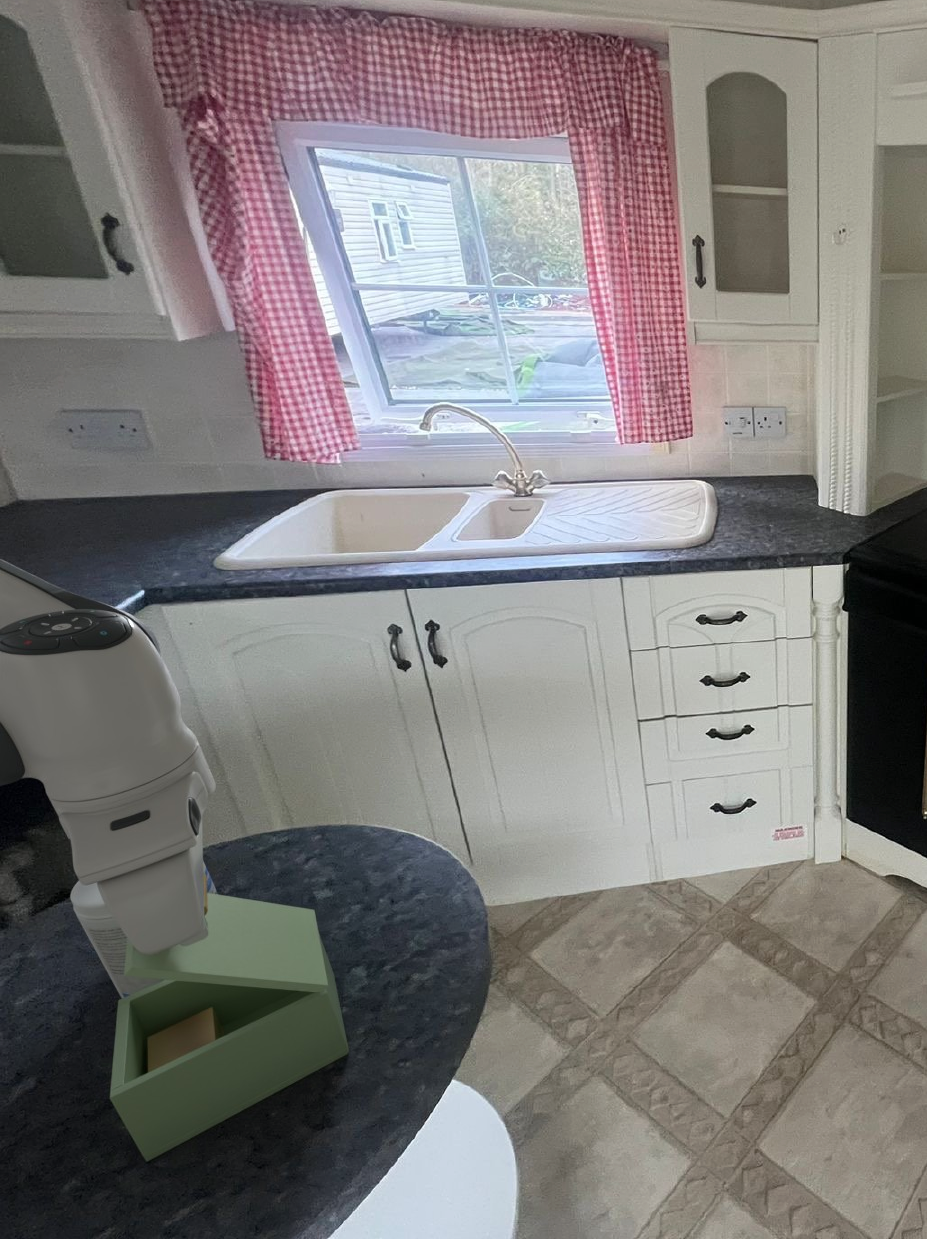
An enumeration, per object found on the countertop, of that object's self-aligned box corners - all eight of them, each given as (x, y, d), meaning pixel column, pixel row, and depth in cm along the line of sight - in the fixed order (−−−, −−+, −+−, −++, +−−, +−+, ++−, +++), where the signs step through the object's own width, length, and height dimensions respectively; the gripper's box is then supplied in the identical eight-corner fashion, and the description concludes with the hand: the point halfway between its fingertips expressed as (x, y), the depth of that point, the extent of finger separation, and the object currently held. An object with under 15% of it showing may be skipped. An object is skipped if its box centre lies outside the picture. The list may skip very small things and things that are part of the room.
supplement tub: (258, 952, 84) (217, 854, 79) (151, 1026, 76) (97, 921, 71) (210, 922, 88) (167, 825, 82) (102, 989, 80) (47, 886, 74)
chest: (146, 1162, 65) (109, 1098, 62) (150, 1061, 73) (118, 999, 70) (349, 1053, 74) (326, 992, 71) (333, 974, 82) (312, 916, 79)
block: (164, 1106, 69) (147, 1074, 67) (163, 1069, 72) (147, 1037, 70) (230, 1071, 72) (215, 1040, 70) (227, 1037, 75) (212, 1006, 73)
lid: (123, 976, 60) (167, 925, 61) (130, 889, 68) (169, 845, 69) (322, 993, 71) (357, 949, 72) (309, 916, 79) (340, 878, 80)
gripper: (95, 749, 67) (151, 865, 72) (70, 885, 53) (142, 1016, 58) (190, 722, 71) (236, 834, 76) (190, 842, 57) (247, 969, 62)
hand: (195, 914), depth 67 cm, fingers closed on lid, 5 cm apart
